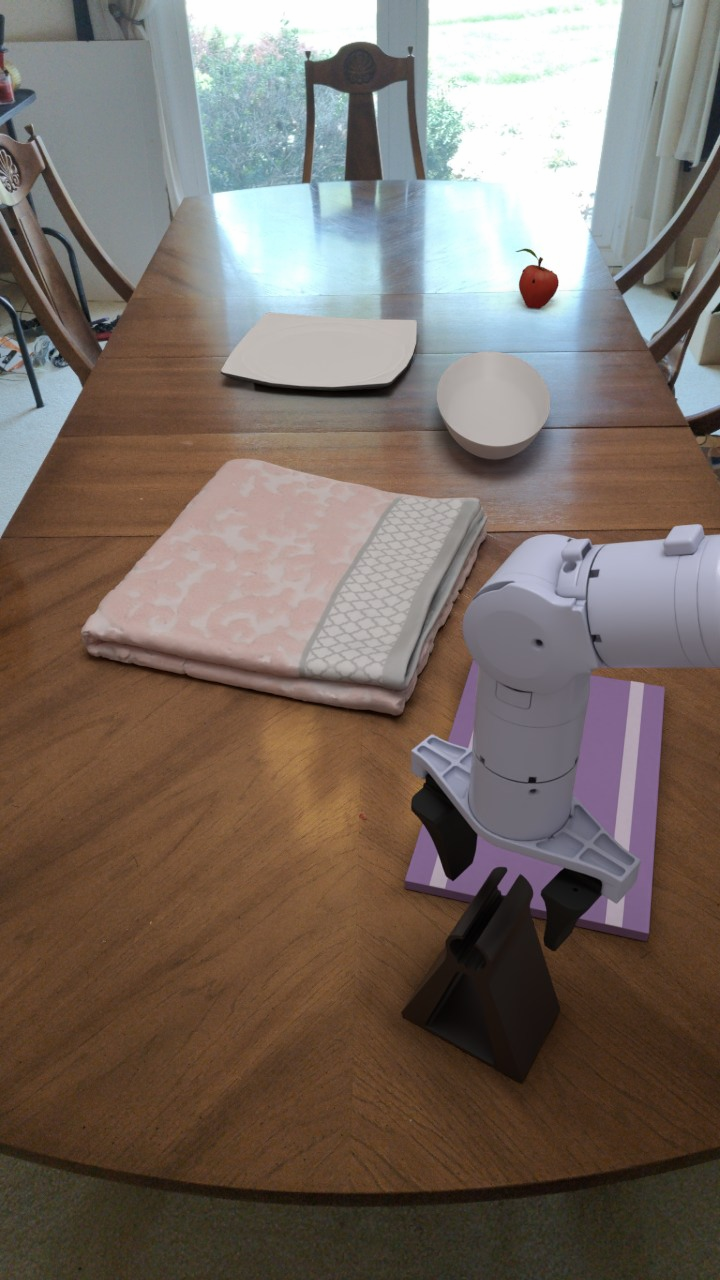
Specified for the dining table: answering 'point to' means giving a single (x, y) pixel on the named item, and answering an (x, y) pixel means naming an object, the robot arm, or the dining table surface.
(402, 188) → the dining table surface
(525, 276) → the apple
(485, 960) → the phone stand
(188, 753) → the dining table surface
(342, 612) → the towel
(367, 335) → the plate
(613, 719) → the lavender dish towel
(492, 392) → the bowl
